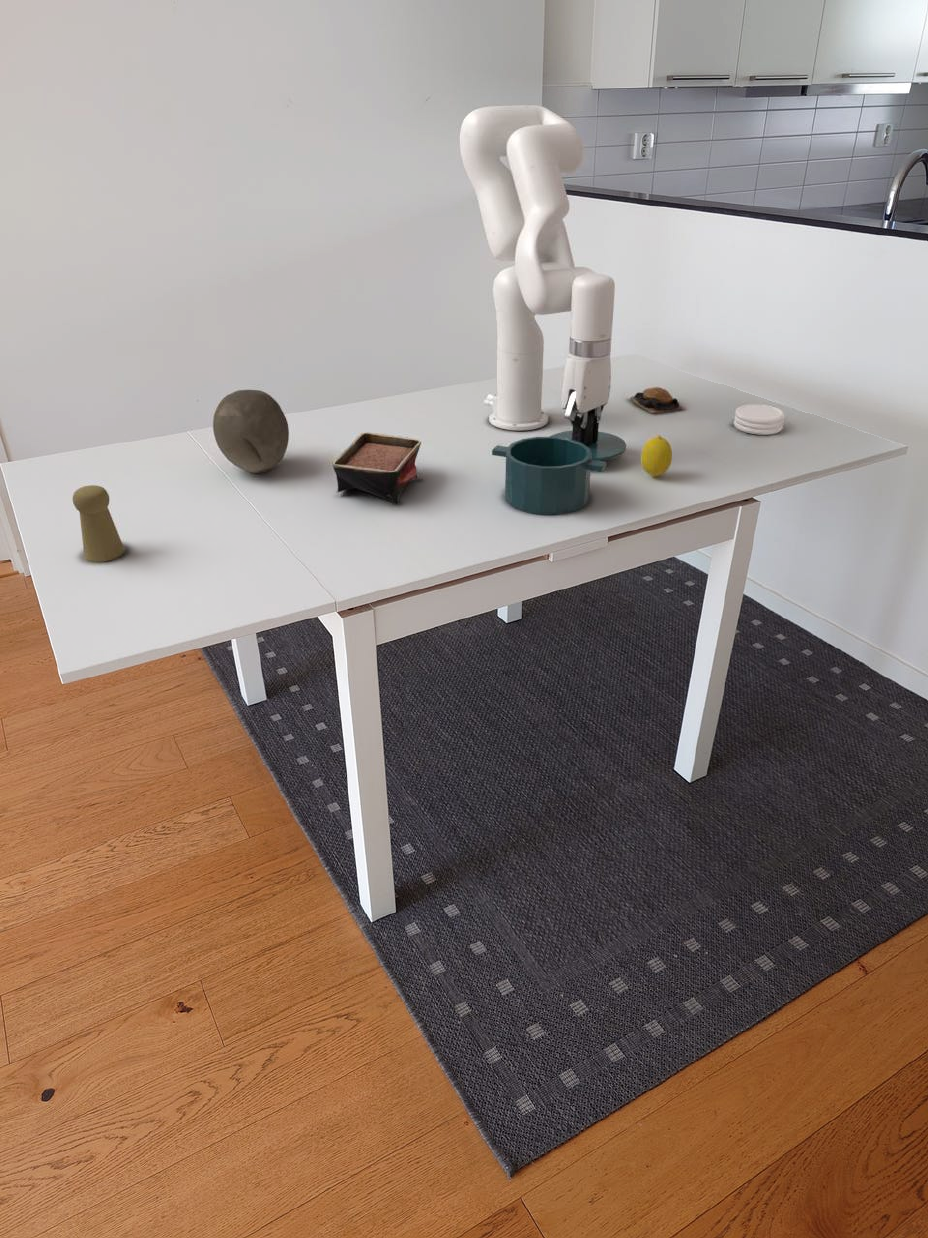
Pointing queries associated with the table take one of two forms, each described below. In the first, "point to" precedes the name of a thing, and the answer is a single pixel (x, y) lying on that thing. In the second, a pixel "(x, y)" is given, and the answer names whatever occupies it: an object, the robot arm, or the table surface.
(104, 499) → the cork
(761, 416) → the white round flat cylinder
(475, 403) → the table surface
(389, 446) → the square planter
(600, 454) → the pot lid
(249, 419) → the grey river stone
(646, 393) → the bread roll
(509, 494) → the pot
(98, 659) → the table surface
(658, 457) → the lemon
